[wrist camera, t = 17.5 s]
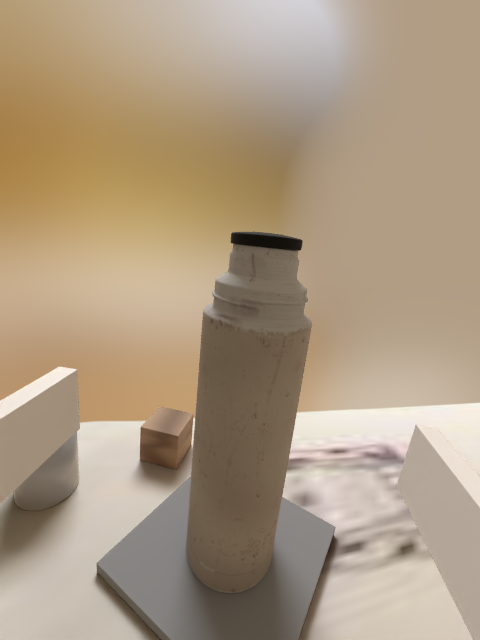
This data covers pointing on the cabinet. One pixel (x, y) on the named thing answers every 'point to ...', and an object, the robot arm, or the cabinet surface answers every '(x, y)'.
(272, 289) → the thermos bottle
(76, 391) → the robot arm
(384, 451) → the cabinet surface
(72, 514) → the cabinet surface
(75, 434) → the grey rounded cylinder
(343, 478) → the cabinet surface
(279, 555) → the gray mat
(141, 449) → the walnut block
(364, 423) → the cabinet surface
